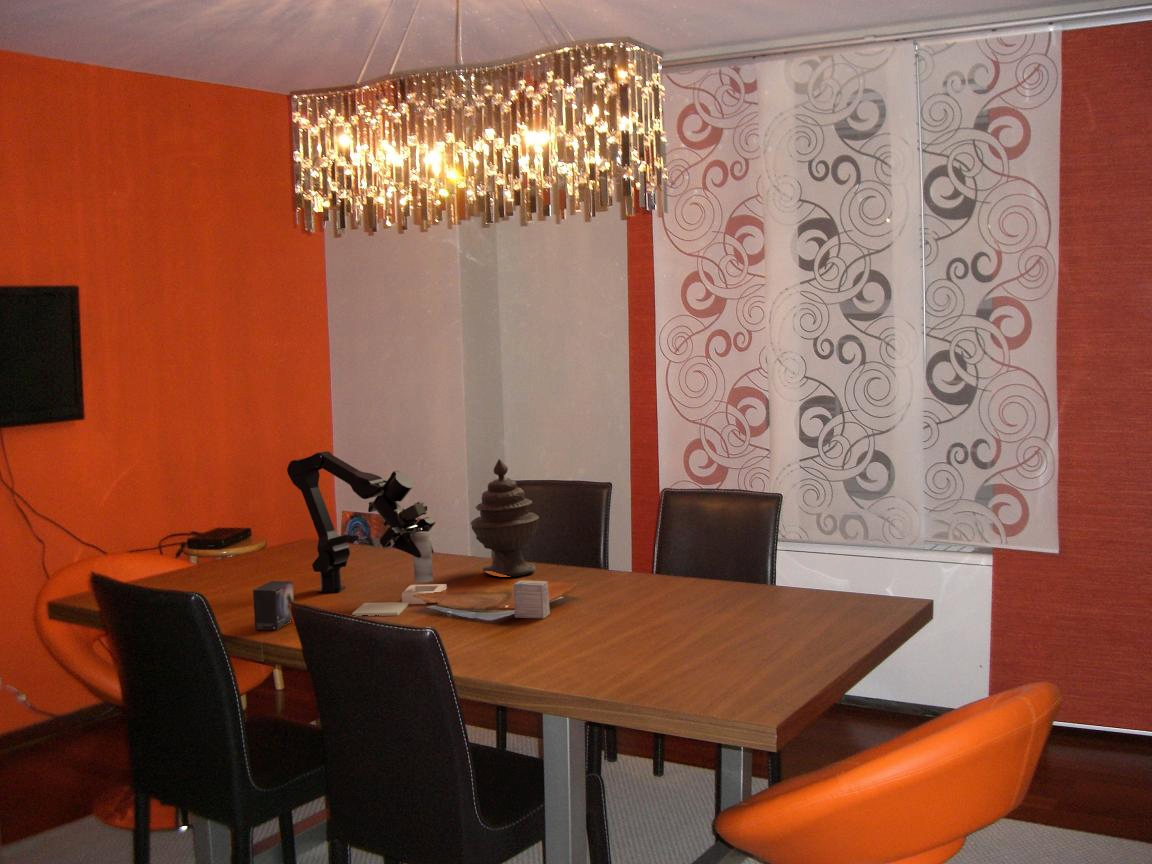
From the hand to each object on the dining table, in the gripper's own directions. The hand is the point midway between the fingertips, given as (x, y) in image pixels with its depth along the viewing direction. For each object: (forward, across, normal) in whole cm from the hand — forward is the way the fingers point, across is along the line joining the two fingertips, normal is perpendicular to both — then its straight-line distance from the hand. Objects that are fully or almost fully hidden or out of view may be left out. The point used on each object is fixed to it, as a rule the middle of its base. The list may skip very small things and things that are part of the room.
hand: (426, 554), depth 306 cm
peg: (+4, 0, +6) cm, 7 cm away
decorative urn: (+11, +35, +7) cm, 38 cm away
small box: (-6, -36, +24) cm, 44 cm away
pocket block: (+8, 0, +10) cm, 12 cm away
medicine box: (+34, -6, -17) cm, 39 cm away
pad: (+5, -14, +12) cm, 19 cm away
